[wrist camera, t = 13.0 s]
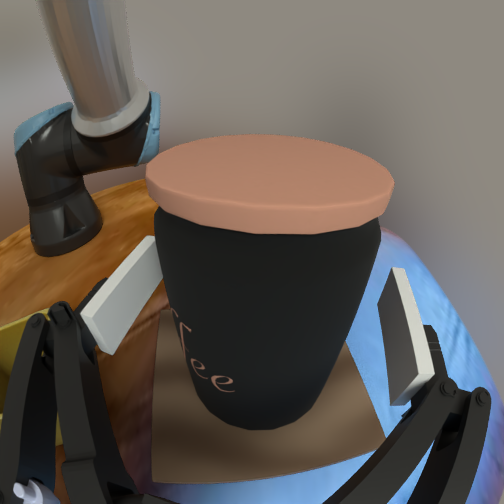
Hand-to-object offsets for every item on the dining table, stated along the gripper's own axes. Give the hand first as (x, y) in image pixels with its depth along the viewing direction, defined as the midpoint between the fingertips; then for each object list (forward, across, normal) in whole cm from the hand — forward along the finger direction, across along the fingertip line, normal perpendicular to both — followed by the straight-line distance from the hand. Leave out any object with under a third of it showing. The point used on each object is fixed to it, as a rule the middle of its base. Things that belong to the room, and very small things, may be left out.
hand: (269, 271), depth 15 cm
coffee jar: (0, 0, -12) cm, 12 cm away
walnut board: (0, 0, -13) cm, 13 cm away
